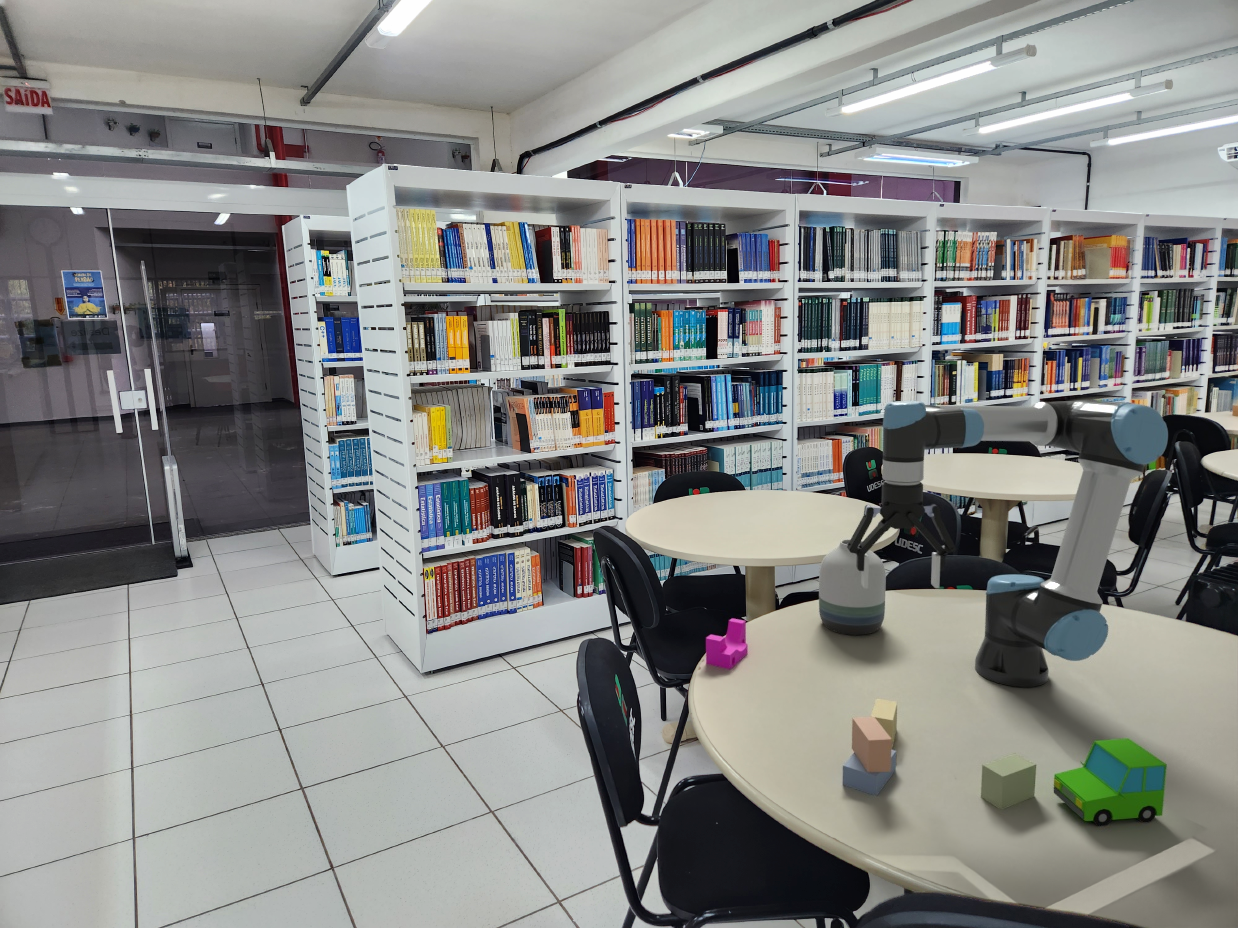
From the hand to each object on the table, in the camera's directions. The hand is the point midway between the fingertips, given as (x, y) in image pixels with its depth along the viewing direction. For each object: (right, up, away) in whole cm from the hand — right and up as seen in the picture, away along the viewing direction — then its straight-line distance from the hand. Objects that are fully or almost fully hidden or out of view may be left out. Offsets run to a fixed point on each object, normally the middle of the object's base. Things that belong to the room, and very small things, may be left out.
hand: (899, 586), depth 152 cm
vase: (+7, -20, +54) cm, 58 cm away
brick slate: (-11, -32, -15) cm, 37 cm away
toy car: (+24, -33, -26) cm, 48 cm away
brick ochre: (-4, -29, -2) cm, 30 cm away
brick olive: (+10, -32, -22) cm, 40 cm away
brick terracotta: (-11, -28, -16) cm, 34 cm away
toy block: (-28, -24, +37) cm, 53 cm away
